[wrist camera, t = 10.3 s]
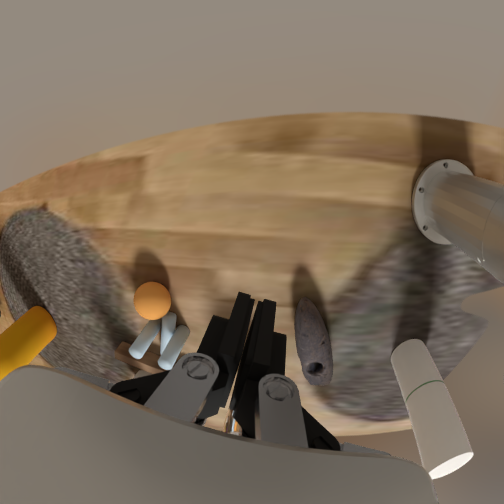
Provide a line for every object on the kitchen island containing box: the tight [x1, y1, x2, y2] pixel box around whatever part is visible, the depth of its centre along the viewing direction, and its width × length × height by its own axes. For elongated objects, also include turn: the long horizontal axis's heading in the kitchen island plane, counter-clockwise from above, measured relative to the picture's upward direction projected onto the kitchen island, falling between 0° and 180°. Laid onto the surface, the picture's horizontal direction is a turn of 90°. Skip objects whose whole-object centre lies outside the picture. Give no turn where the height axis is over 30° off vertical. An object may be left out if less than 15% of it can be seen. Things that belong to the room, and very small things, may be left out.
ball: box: [134, 282, 171, 320], centre depth 42 cm, size 6×6×6 cm
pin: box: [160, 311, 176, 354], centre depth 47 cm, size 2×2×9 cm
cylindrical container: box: [391, 339, 473, 479], centre depth 32 cm, size 7×7×25 cm
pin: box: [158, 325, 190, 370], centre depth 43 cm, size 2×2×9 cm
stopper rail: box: [115, 341, 177, 374], centre depth 49 cm, size 20×2×4 cm, turn 76°
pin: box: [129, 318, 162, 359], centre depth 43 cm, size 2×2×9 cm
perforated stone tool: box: [294, 297, 333, 386], centre depth 41 cm, size 15×5×7 cm, turn 15°
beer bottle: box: [0, 306, 57, 381], centre depth 40 cm, size 9×9×29 cm
